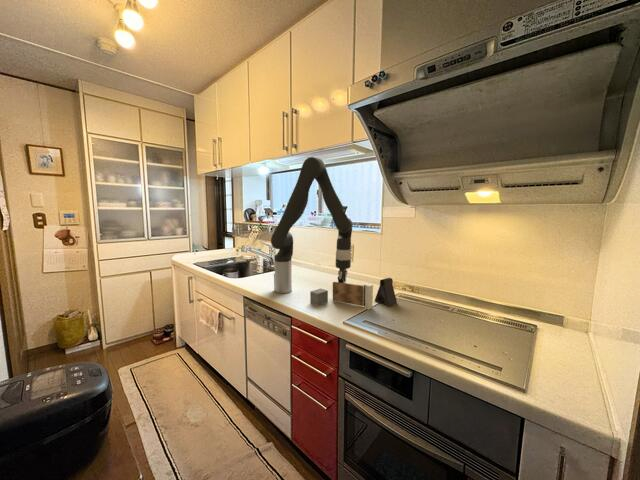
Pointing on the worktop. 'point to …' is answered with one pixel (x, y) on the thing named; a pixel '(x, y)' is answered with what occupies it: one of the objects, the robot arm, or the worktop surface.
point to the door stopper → (386, 293)
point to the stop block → (318, 297)
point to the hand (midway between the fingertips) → (342, 291)
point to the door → (349, 293)
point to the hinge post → (368, 296)
